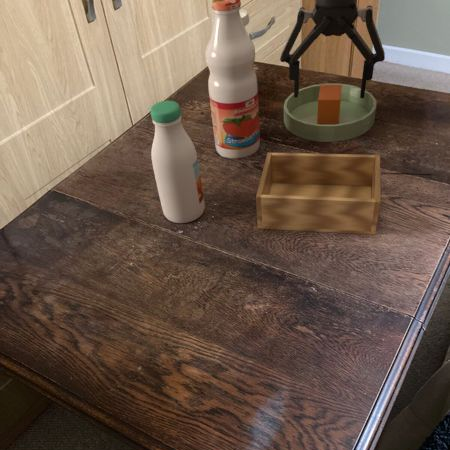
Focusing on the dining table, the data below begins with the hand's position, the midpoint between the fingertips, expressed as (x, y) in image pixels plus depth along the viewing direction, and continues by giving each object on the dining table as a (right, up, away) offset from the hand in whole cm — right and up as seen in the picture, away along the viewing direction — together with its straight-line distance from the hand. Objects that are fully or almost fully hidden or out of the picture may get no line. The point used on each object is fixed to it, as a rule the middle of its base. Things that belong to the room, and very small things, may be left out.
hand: (328, 95), depth 104 cm
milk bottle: (-29, -27, -13) cm, 42 cm away
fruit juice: (-19, -11, 0) cm, 22 cm away
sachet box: (+1, -4, +4) cm, 5 cm away
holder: (-5, -27, -16) cm, 32 cm away
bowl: (+1, -4, +4) cm, 6 cm away
